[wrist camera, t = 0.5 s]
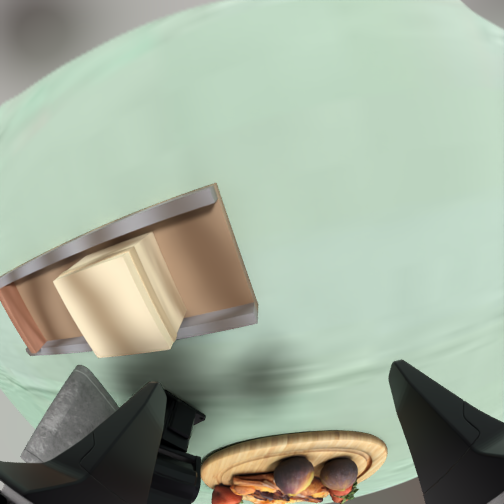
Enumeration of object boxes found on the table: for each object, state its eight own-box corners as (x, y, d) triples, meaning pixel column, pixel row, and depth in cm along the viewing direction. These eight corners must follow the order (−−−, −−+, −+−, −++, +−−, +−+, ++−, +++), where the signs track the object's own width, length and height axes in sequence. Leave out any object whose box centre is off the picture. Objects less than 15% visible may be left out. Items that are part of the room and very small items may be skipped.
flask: (92, 365, 28) (27, 480, 11) (139, 432, 33) (107, 528, 16) (72, 364, 28) (8, 467, 11) (120, 429, 33) (85, 519, 16)
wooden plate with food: (217, 494, 43) (214, 523, 35) (179, 428, 31) (168, 478, 23) (361, 482, 42) (367, 510, 34) (410, 407, 30) (428, 451, 22)
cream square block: (152, 230, 20) (122, 255, 15) (187, 310, 22) (171, 349, 17) (85, 255, 21) (52, 280, 16) (121, 324, 23) (97, 358, 18)
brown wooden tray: (216, 182, 20) (206, 190, 16) (258, 304, 23) (257, 331, 20) (2, 275, 24) (-16, 288, 20) (40, 343, 27) (25, 360, 24)
